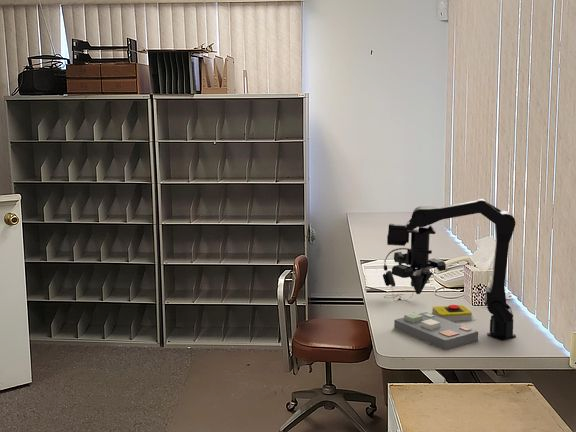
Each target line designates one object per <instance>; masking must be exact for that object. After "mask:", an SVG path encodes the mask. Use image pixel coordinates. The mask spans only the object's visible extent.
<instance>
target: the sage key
mask: <svg viewBox="0 0 576 432" xmlns="http://www.w3.org/2000/svg"><path fill="white" fill-rule="evenodd" d="M419 314H420V313H415V312H411V313H407V314H403V318H404V320H406V321H409V322H411V323H416V322H420V321H423V316H422V315H419Z"/></svg>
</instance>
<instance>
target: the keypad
mask: <svg viewBox="0 0 576 432" xmlns="http://www.w3.org/2000/svg"><path fill="white" fill-rule="evenodd" d="M418 314H419V315H422V316H423V321H425V320H429V319H432V320H435V321H437V322H440V328H436V329H433V330H429V329H426V328H424V327H421V321H420V322H416V323H411V322H409V321H406V320H404V317H399V318H396V319H394V323H393V324H394V326H393V327H394V328H393V329H395V330H398V331H400V332H402V333H404V334H406V335H409V336H411V337H414V338H416V339H419V340H421V341H423V342H425V343H427V344H430V345H432V346H435V347H436V348H440V349H442V350H444V351H446V350H450V349H454V348H457V347H461V346H463V345H467V344H471V343H474V342H477V341H479V331H478V330H476V329H473V328H470V327H468V326H466V325H462V324H460V323H457V322H452V321H449V320H446V319H444V318H441V317H438V316H436V315H433V314H432V313H429V312H427V311H425V312H420V313H418ZM446 330H451V331H454V332H456V333H459V335H456V336H453V337H446V336H444V335H441V334H439V332H442V331H446Z"/></svg>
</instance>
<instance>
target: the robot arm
mask: <svg viewBox="0 0 576 432" xmlns="http://www.w3.org/2000/svg"><path fill="white" fill-rule="evenodd" d="M476 214H481V215H482V216H483V217H485V218H486V219H488V220H489V221H490V222H491V223H493V224H494V231H495V233H494V234H495V240H496V241H495V249H494V258H493V259H494V260H493V267H492V278H491V283H490V286H489V287H487V286H485V288H484V289H485V295H484V297H483V300H484V305H485V306H486V308H487V311H488V312H489V313H490V314H491V316H490V320H489V332H487V333H486V335H487V336H489V337H491V338H495V339H498V340H499V341H506V340H509V339H513V338H516V337H517V335H516V334H514V313H513V311H512V307H511V306H510V305H509V304H508V303H507V297H506V296H507V295H506V289H505V284H506V275H507V273H506V272H507V265H508V257H509V247H510V242H511V239H512V237H513V234H514V230H515V228H516V218H515V217H514V216H513V213H511V212H510V211H507V210H501V209H499V208H498V207H497V206H495V205H493V204H491V203H489V202H488V201H487V200H485V199H484V198H478V199H476V200H471V201H466V202H460V203H459V202H458V203H455V204H454V203H453V204H450V205H443V206H435V205H434V206H433V205H432V206H431V205H425V206H422V205H421V206H418V207H416V208H415V209H414V210H413V211H412V213H411V218H410V219H409V220H408V221H407V222H406V224H394V223H389V224H388V233H387V236H386V237H387V238H386V239H387V240H386V241H387V242H386V243H387V246H400V247H402V246H403V247H406V245H407V244H409V242H410V248H409V249H408V250H407V252H406V253H402V251H396V252H394V253H393V259H394V263H398V264H396V265H393V266H392V268H391V272H392V275H393V276H397V277H399V278H403V279H406V278H407V279H408V278H410V279H411V280H412V282H413V285H414V287H413V289H414V288H415V289H414V292H415V294H416V295H420V294H421V293H422V291H423V289H424V287H425V286H426V284H427V282H428V281H429V280H430V279H431V276H433V275H434V273H433V272H431V269H437V271H438V272H442V271H443V272H444V271H446V269H447V268H446V267H447V266H446V265H447V264H446V262H445V261H444V260H441V259H438V258H437V259H436V258H429V257H430V254H431V255H432V252H433V250H431V249H430V235H435V234H436V231H437V230H436V229H435V228H433V226H432V225H434V224H435V223H437V222H440V221H442V220H449V219H454V218H459V217H465V216H469V215H476ZM427 226H428V227H427ZM417 228H418V229H417ZM410 235H411V236H410Z"/></svg>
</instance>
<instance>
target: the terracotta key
mask: <svg viewBox="0 0 576 432" xmlns="http://www.w3.org/2000/svg"><path fill="white" fill-rule="evenodd" d="M439 334H441V335H444V336H446V337H453V336H456V335H459V333H456V332H454V331H451V330H446V331H442V332H439Z"/></svg>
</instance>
